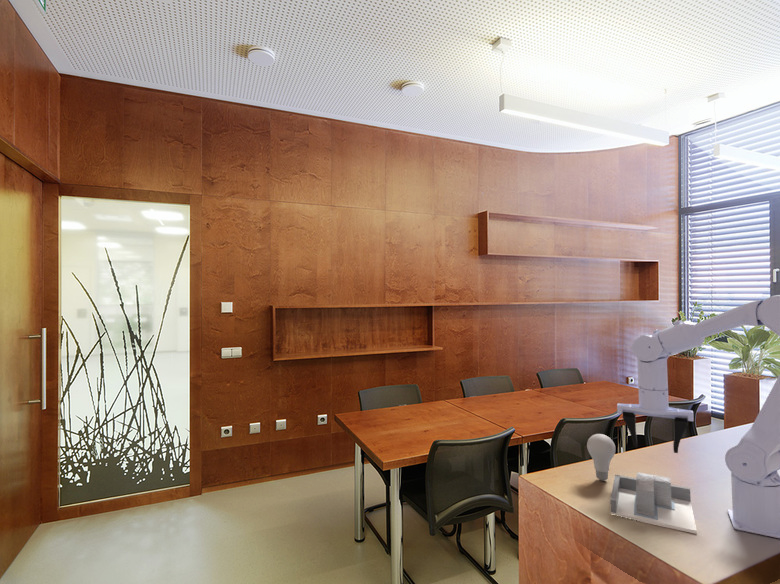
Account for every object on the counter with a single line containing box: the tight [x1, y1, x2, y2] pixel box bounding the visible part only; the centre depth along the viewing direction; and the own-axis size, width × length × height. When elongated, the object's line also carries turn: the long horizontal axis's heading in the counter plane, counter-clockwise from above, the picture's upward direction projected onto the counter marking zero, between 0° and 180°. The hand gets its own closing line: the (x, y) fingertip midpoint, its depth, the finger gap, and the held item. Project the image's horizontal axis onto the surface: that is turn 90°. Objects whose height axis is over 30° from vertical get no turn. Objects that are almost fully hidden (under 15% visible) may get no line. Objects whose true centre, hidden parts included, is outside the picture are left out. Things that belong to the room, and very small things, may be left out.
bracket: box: [636, 471, 672, 518], centre depth 85 cm, size 9×6×5 cm, turn 148°
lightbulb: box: [586, 433, 617, 482], centre depth 100 cm, size 6×6×11 cm
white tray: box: [609, 474, 698, 535], centre depth 86 cm, size 14×14×3 cm
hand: (655, 448), depth 95 cm, fingers open, 7 cm apart
